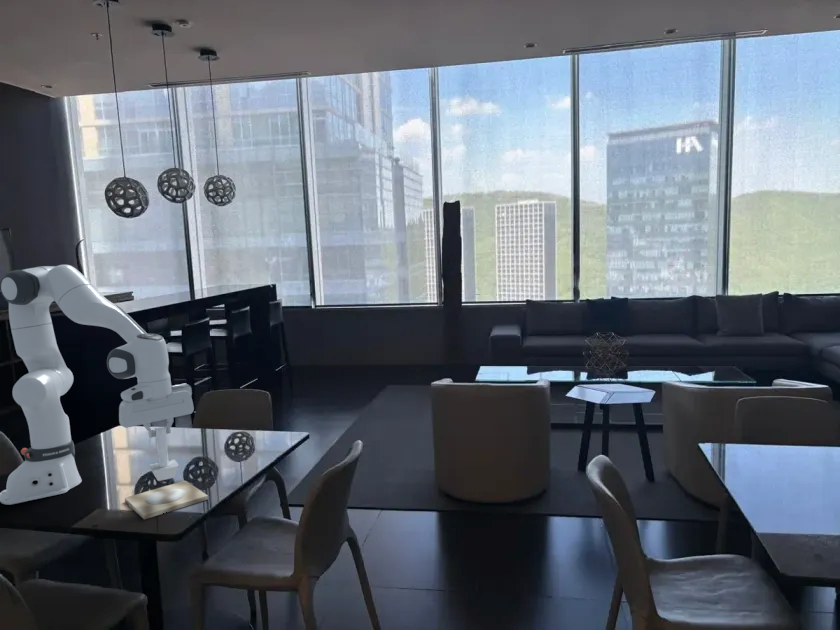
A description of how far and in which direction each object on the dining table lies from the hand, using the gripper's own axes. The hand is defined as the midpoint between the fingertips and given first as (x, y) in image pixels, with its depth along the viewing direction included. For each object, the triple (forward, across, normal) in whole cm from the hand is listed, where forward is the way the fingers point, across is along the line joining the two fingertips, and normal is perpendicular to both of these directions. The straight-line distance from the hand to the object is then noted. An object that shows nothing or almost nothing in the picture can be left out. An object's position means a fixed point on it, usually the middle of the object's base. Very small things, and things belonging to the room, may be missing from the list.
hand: (159, 435), depth 174 cm
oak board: (+20, 0, 0) cm, 20 cm away
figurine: (+13, 0, +1) cm, 13 cm away
